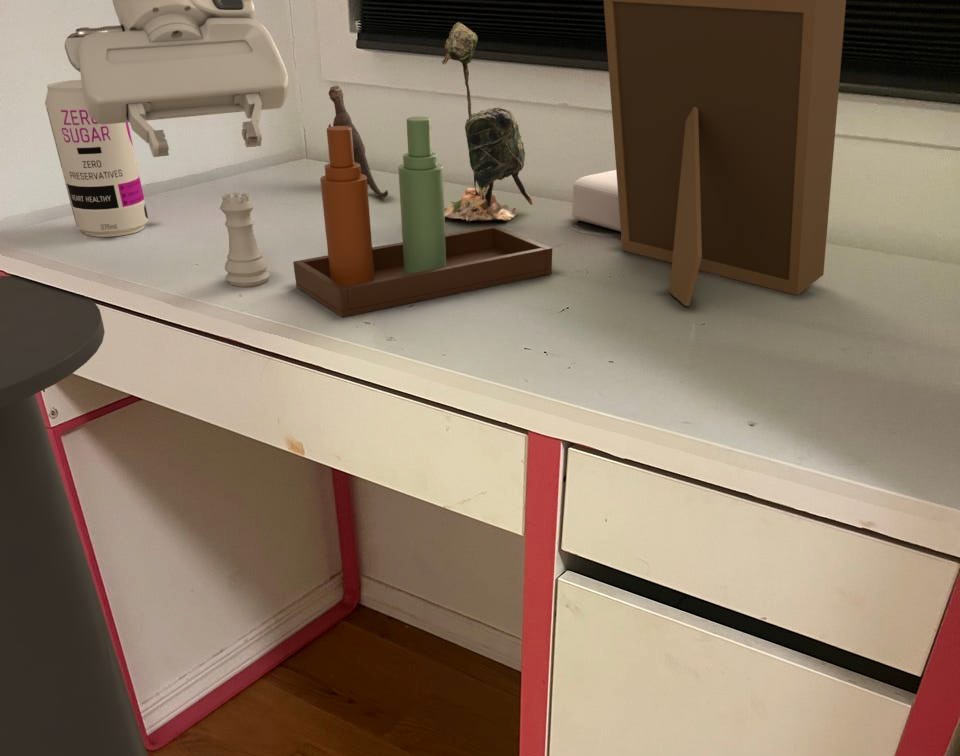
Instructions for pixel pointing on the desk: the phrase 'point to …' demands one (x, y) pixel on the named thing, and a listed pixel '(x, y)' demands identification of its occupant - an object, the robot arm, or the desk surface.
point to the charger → (597, 200)
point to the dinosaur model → (358, 146)
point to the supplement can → (95, 165)
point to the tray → (428, 271)
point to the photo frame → (726, 135)
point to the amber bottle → (346, 212)
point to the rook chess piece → (242, 244)
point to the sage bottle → (421, 201)
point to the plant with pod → (485, 144)
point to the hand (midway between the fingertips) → (208, 147)
